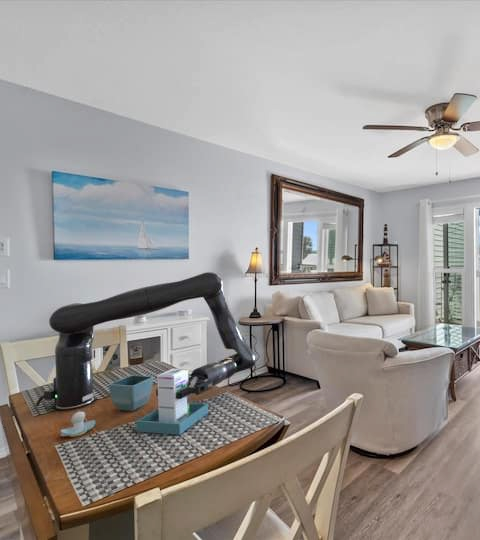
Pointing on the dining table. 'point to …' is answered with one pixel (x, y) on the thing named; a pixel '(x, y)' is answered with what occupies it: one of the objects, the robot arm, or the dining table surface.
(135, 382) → the flower pot
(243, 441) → the dining table surface
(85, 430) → the pacifier
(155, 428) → the tray
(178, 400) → the syrup box
